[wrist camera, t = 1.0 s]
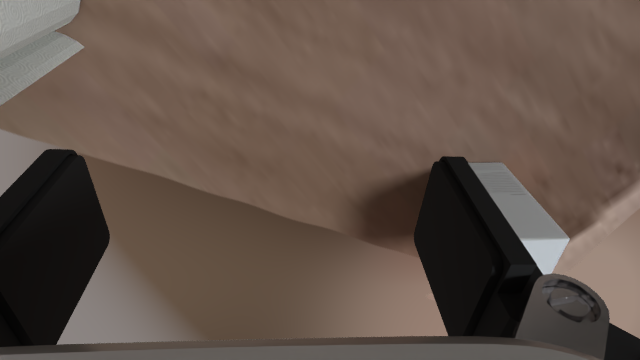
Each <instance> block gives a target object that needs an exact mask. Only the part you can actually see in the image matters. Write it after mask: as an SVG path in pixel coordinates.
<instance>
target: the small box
mask: <svg viewBox="0 0 640 360" xmlns="http://www.w3.org/2000/svg"><path fill="white" fill-rule="evenodd" d="M468 164H469V165H470V166H471V168H472V169H473V171H474V172H475V174H476V175H477V177H478V178H479V180H480V181H481V183H482V184H483V186H484V187H485V189H486V190H487V191H488V193H489V194H490V196H491V197H492V199H493V200H494V202H495V203H496V205H497V206H498V208H499V209H500V211H501V212H502V214H503V215H504V217H505V218H506V219H507V221H508V222H509V224H510V225H511V227H512V228H513V230H514V231H515V233H516V234H517V236H518V237H519V239H520V240H521V242H522V243H523V244H524V246H525V247H526V249H527V250H528V252H529V253H530V255H531V256H532V258H533V259H534V261H535V262H536V264H537V266H538V268H539V269H540V270H541V272H542V273H543V275H545V274H551V273H552V272H553V270H554V268H555V266H556V264H557V262H558V260H559V258H560V257H561V255H562V253H563V251H564V249H565V247H566V245H567V243H568V242H569V240H570V238H569V237H568V236H567V235H566V234H565V233H564V231H563V230H562V229H561V228H560V227H559V226H558V225H557V224H556V222H555V221H554V220H553V219H552V218H551V217H550V216H549V215H548V214H547V212H546V211H545V210H544V209H543V208H542V207H541V206H540V204H539V203H538V202H537V201H536V200H535V199H534V198H533V197H532V195H531V194H530V193H529V192H528V191H527V190H526V189H525V188H524V186H523V185H522V184H521V183H520V182H519V181H518V180H517V178H516V177H515V176H514V175H513V174H512V173H511V172H510V171H509V170H508V168H507V167H506V166H505V165H504V164H503V163H501V162H491V163H468Z"/></svg>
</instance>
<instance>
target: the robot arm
mask: <svg viewBox="0 0 640 360" xmlns="http://www.w3.org/2000/svg"><path fill="white" fill-rule="evenodd" d="M109 239H110V234H109V230H108V227H107V224H106V221H105V218H104V215H103V212H102V209H101V206H100V204H99V200H98V198H97V194H96V191H95V189H94V185H93V183H92V180H91V177H90V174H89V171H88V168H87V165H86V162H85V159H84V158H83V157H82V156H80V155H77V153H76V152H75V151H74V150H61V149H49V150H46V151H44V152H43V153H42V154H41V155H40V156H39V157H38V158H37V159H36V160H35V161H34V163H33V164H32V165H31V166H30V167H29V168H28V169H27V170H26V171H25V172H24V173H23V174H22V175H21V176H20V177H19V178H18V179H17V180H16V181H15V182H14V183H13V184H12V185H11V186H10V187H9V188H8V189H7V190H6V192H4V193H3V195H2V196H1V197H0V360H640V339H639V338H637V337H635V336H633V335H631V334H629V333H628V332H626V331H624V330H622V329H620V328H618V327H616V326H615V325H612V324H611V323H609V319H610V318H609V310H608V308H607V306H606V304H605V302H604V301H603V300H602V299H601V297H600V296H599V295H598V294H597V293H596V292H595V291H593V290H592V289H591V288H590V287H588V286H587V285H585V284H583V283H582V282H580V281H578V280H576V279H574V278H571V277H568V276H565V275H560V274H545V275H543V273H542V272H541V270H540V269H539V268H538V266H537V264H536V262H535V261H534V259H533V258H532V256H531V255H530V253H529V252H528V250H527V249H526V247H525V246H524V244H523V243H522V242H521V240H520V239H519V237H518V236H517V234H516V233H515V231H514V230H513V228H512V227H511V225H510V224H509V222H508V221H507V219H506V218H505V217H504V215H503V214H502V212H501V211H500V209H499V208H498V206H497V205H496V203H495V202H494V200H493V199H492V197H491V196H490V194H489V193H488V191H487V190H486V189H485V187H484V186H483V184H482V183H481V181H480V180H479V178H478V177H477V175H476V174H475V172H474V171H473V169H472V168H471V166H470V165H469V164H468V162H467V161H466V159H465V158H464V157H444V156H443V157H441V159H440V160H439V162H437V161H436V162H434V164H433V166H432V170H431V173H430V177H429V181H428V184H427V188H426V192H425V195H424V199H423V203H422V206H421V210H420V214H419V217H418V221H417V225H416V228H415V232H414V242H415V246H416V248H417V251H418V254H419V257H420V259H421V262H422V265H423V268H424V270H425V273H426V276H427V278H428V281H429V284H430V287H431V289H432V292H433V295H434V298H435V300H436V303H437V306H438V309H439V311H440V314H441V317H442V320H443V322H444V325H445V328H446V331H447V333H448V336H407V337H349V338H297V339H296V338H295V339H256V340H255V339H253V340H252V339H251V340H209V341H171V342H134V343H101V344H100V343H98V344H64V345H56V344H57V342H58V340H59V338H60V336H61V334H62V332H63V330H64V329H65V327H66V325H67V323H68V321H69V319H70V317H71V315H72V313H73V311H74V309H75V307H76V305H77V303H78V301H79V300H80V298H81V296H82V294H83V292H84V290H85V288H86V286H87V284H88V283H89V281H90V279H91V277H92V275H93V273H94V271H95V269H96V267H97V265H98V263H99V261H100V259H101V258H102V256H103V254H104V252H105V250H106V248H107V246H108V244H109Z"/></svg>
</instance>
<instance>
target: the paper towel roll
mask: <svg viewBox="0 0 640 360" xmlns="http://www.w3.org/2000/svg"><path fill="white" fill-rule="evenodd" d="M79 6H80V0H0V106H1V105H2V104H4V103H5V102H7V101H8V100H10V99H11V98H12V97H14V96H15V95H17V94H18V93H20V92H21V91H22V90H24V89H25V88H27V87H28V86H30V85H31V84H33V83H34V82H35V81H37V80H38V79H40V78H41V77H43V76H44V75H45V74H47V73H48V72H50V71H51V70H53V69H54V68H56V67H57V66H58V65H60V64H61V63H63V62H64V61H66V60H67V59H68V58H70V57H71V56H73V55H74V54H76V53H77V52H79V51H80V50H81V49H83V48H84V46H82V45H81V44H80V43H79V42H78V41H76V40H74V39H72V38H70V37H68V36H66V35H64V34H61V33H58V32H55V30H57V29H58V28H60V27H62V26H64V25H66V24H68V23H70V22H71V21H72V20H73V18H74V17H75V16H76V15H77V13H78V12H79Z"/></svg>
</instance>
